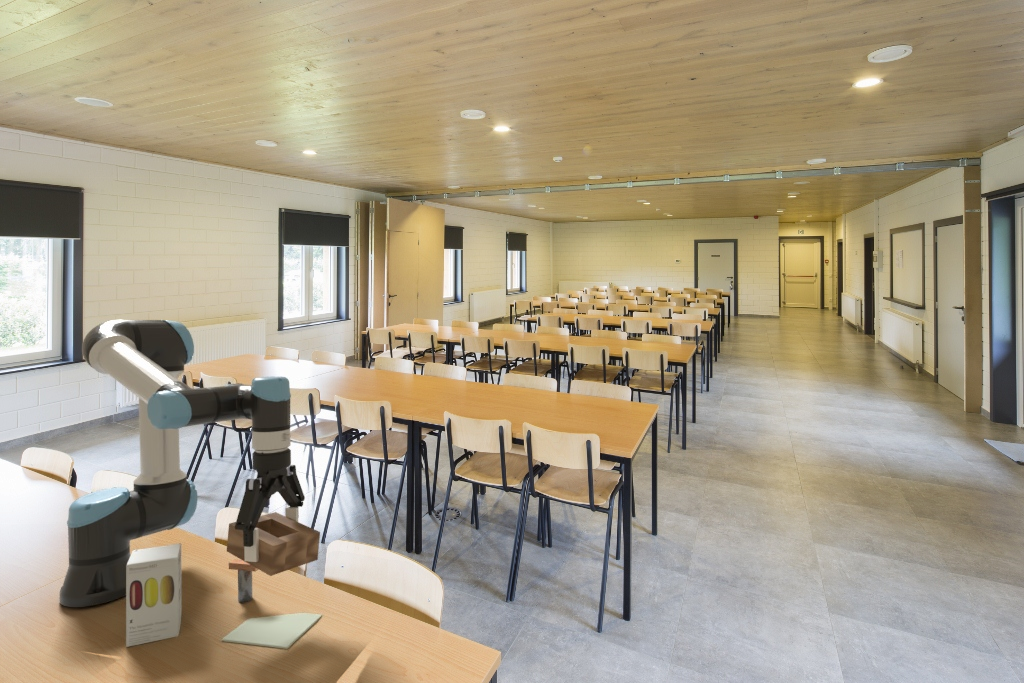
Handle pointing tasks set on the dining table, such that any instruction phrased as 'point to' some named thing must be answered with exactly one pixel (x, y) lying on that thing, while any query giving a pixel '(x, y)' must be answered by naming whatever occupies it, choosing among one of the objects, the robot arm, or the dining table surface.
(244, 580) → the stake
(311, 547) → the brown hollow elongated block
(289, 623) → the mat
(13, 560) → the dining table surface
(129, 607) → the supplement box
